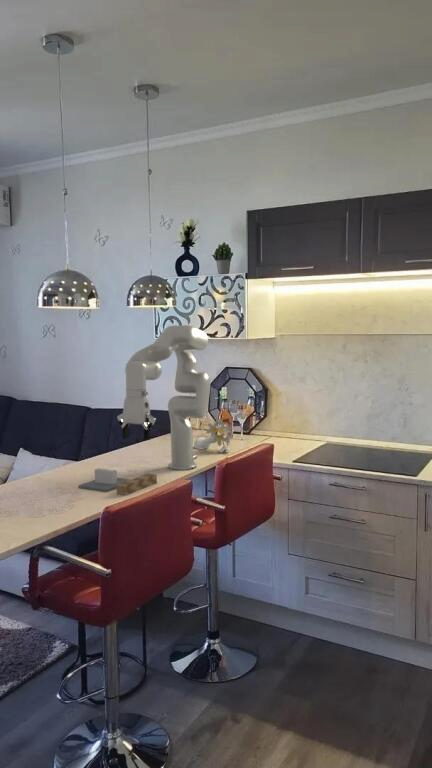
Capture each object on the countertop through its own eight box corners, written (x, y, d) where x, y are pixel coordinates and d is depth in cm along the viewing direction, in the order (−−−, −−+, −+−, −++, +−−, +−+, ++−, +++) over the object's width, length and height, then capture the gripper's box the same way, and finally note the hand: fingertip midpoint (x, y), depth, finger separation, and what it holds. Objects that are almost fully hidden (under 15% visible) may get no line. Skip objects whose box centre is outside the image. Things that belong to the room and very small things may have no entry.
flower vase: (198, 469, 301) (225, 451, 283) (182, 436, 305) (208, 417, 287) (217, 461, 310) (244, 443, 292) (201, 429, 313) (227, 410, 295)
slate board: (105, 478, 243) (104, 464, 242) (132, 482, 236) (132, 467, 236) (78, 487, 229) (77, 472, 229) (107, 492, 222) (106, 476, 222)
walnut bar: (148, 482, 236) (148, 473, 236) (156, 483, 234) (156, 474, 234) (117, 495, 219) (116, 484, 219) (125, 496, 217) (125, 485, 217)
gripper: (160, 394, 224) (160, 439, 225) (123, 392, 232) (124, 436, 233) (148, 395, 217) (149, 442, 218) (111, 394, 226) (112, 438, 226)
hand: (136, 439), depth 226 cm, fingers open, 9 cm apart
